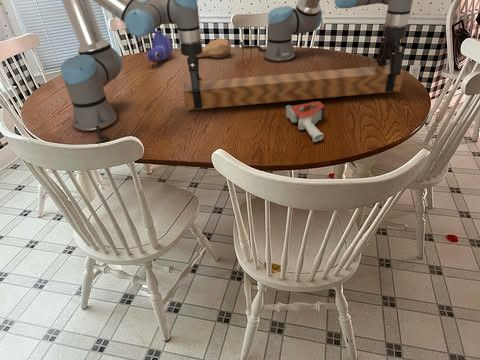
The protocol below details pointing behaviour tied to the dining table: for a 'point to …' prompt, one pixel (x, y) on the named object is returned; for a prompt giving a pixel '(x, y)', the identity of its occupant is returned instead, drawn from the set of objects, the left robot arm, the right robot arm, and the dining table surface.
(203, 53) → the squash
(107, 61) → the left robot arm
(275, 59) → the right robot arm
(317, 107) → the tape dispenser
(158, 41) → the toy
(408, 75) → the dining table surface
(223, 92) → the thick board
